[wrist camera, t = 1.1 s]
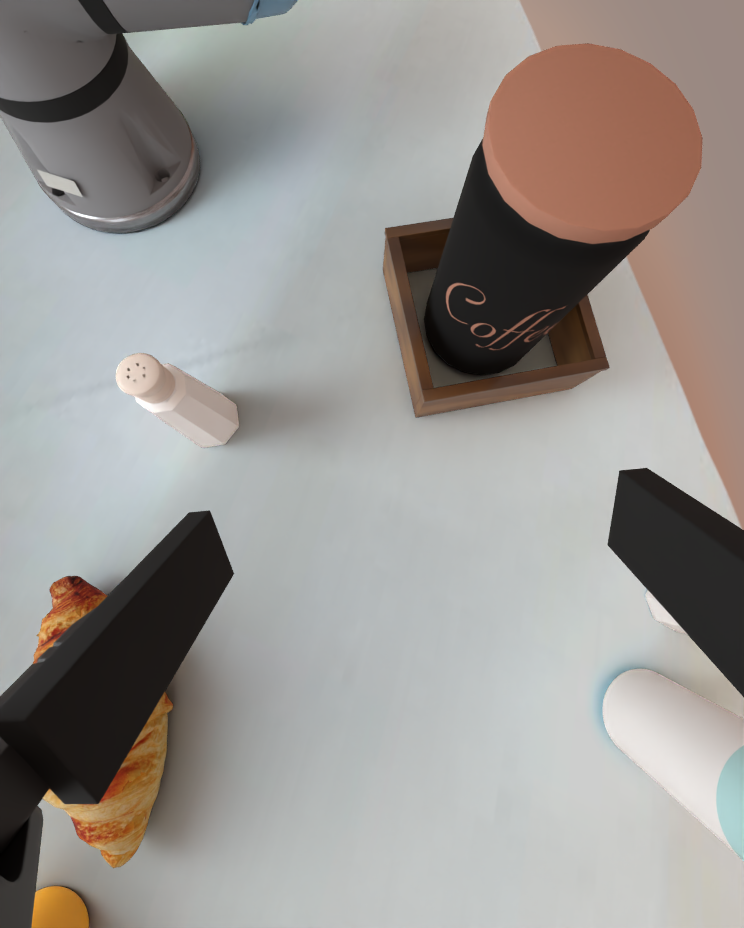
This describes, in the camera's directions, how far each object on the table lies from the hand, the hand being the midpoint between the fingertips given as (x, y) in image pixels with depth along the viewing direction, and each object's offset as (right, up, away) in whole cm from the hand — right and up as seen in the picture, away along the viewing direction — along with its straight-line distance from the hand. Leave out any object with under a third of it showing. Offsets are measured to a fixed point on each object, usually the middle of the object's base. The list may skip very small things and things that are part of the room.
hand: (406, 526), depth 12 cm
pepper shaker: (-16, +6, +21) cm, 27 cm away
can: (+22, -19, +19) cm, 34 cm away
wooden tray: (+9, +15, +23) cm, 29 cm away
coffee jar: (+9, +15, +23) cm, 29 cm away
